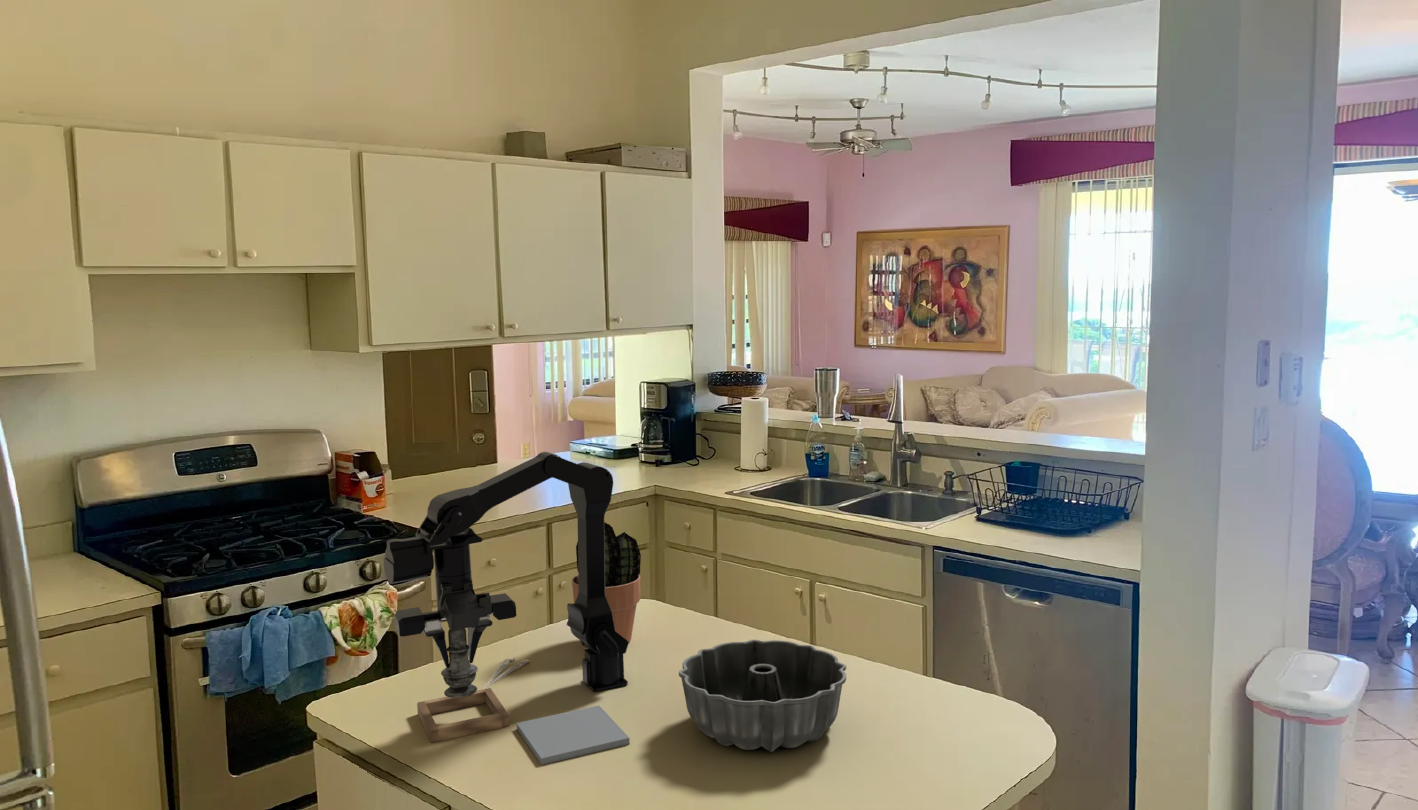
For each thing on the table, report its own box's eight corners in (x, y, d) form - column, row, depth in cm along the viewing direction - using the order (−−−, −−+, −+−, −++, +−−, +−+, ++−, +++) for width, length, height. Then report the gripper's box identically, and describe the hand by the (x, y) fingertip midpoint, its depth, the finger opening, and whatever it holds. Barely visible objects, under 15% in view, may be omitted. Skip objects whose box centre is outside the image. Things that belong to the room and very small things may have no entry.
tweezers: (508, 662, 192) (508, 652, 191) (531, 664, 190) (530, 654, 190) (462, 704, 175) (461, 694, 175) (486, 707, 174) (486, 696, 173)
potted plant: (614, 658, 190) (608, 530, 188) (560, 646, 198) (554, 522, 195) (656, 636, 202) (651, 515, 199) (603, 626, 209) (598, 509, 206)
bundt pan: (862, 703, 166) (861, 645, 165) (828, 777, 142) (827, 709, 141) (712, 687, 175) (711, 632, 174) (656, 754, 150) (654, 691, 149)
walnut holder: (491, 698, 173) (490, 687, 173) (509, 725, 162) (508, 714, 162) (417, 713, 168) (417, 702, 167) (431, 742, 156) (430, 730, 156)
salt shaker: (469, 699, 161) (465, 627, 159) (436, 697, 162) (431, 626, 160) (484, 685, 166) (480, 615, 165) (452, 683, 168) (447, 614, 166)
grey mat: (599, 710, 166) (599, 705, 166) (629, 743, 154) (629, 737, 154) (516, 729, 160) (516, 723, 160) (541, 764, 148) (541, 758, 148)
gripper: (401, 594, 151) (408, 693, 152) (522, 575, 159) (527, 669, 160) (390, 576, 161) (397, 669, 162) (505, 559, 169) (510, 648, 170)
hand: (459, 664), depth 164 cm, fingers closed on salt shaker, 3 cm apart
